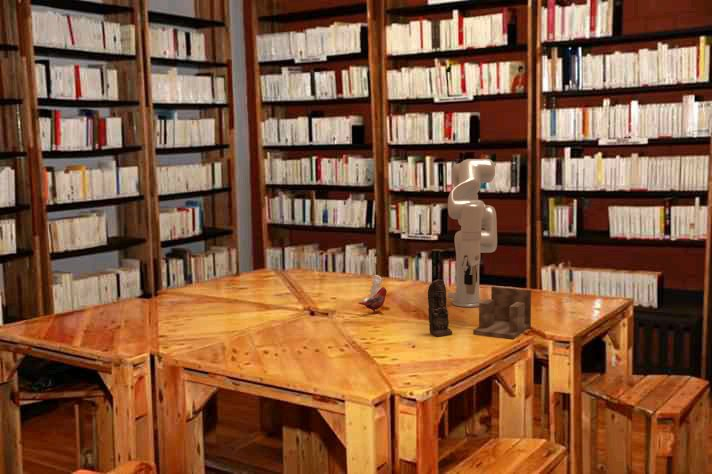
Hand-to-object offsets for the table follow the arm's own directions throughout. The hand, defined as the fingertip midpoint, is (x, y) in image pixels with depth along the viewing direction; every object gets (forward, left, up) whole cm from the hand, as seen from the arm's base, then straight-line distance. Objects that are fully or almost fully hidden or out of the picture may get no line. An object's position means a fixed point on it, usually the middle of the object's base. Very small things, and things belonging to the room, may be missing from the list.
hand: (470, 282), depth 306 cm
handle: (0, 0, -5) cm, 5 cm away
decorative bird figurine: (-40, -5, -16) cm, 43 cm away
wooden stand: (+15, -7, -15) cm, 22 cm away
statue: (-4, -21, -16) cm, 26 cm away
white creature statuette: (-49, +14, -16) cm, 53 cm away
